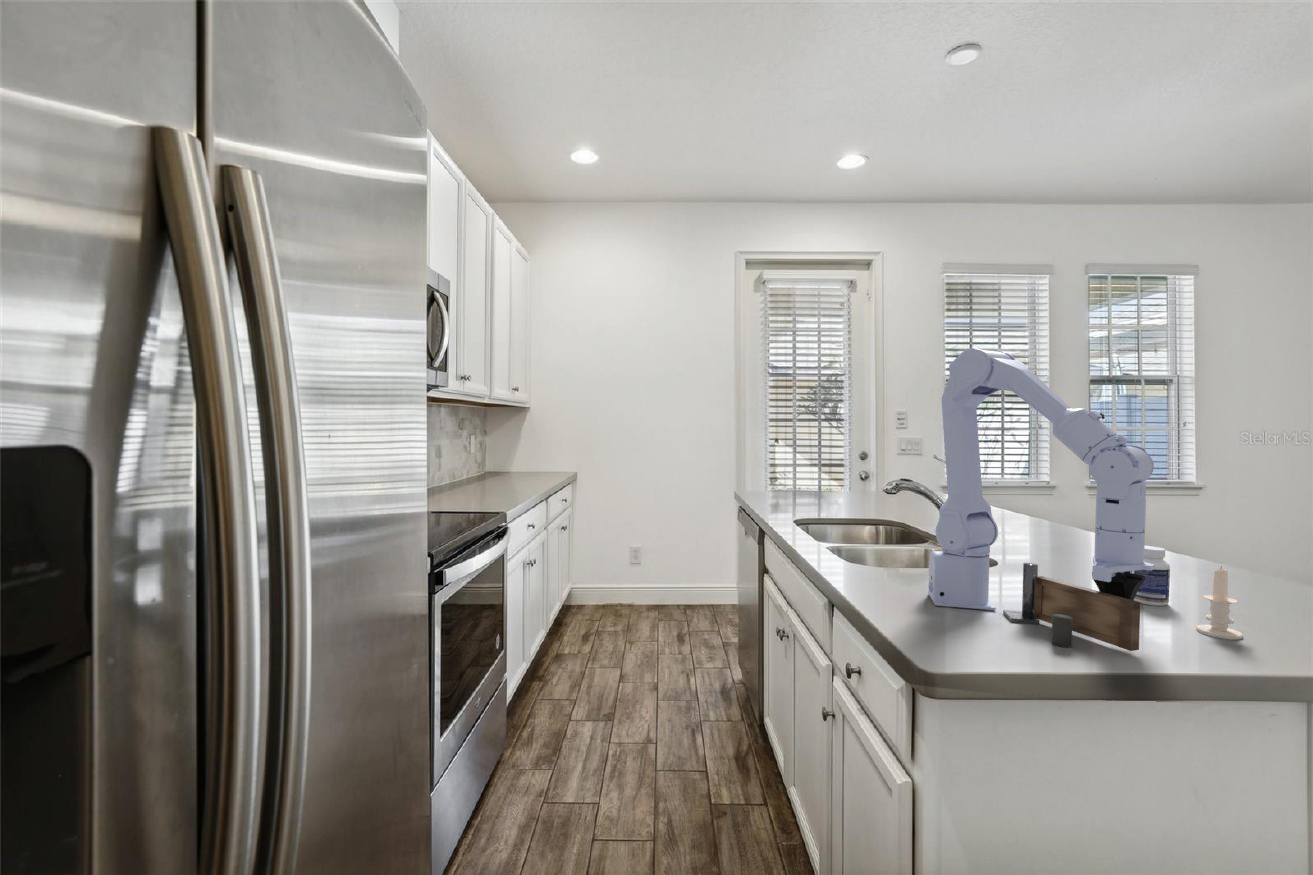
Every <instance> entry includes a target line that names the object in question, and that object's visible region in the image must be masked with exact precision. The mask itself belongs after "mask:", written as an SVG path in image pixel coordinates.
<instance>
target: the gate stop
mask: <svg viewBox="0 0 1313 875" xmlns="http://www.w3.org/2000/svg"><path fill="white" fill-rule="evenodd" d="M1072 619H1073V618H1072V617H1070V616H1067V615H1062V614H1053V615H1052V624H1051V627H1052V628H1051V644H1052V645H1054V646H1057V647H1061V648H1071V647H1072V646H1073V645H1072V644H1073V643H1072V642H1073V631H1072Z"/></svg>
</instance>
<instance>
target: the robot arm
mask: <svg viewBox="0 0 1313 875" xmlns="http://www.w3.org/2000/svg"><path fill="white" fill-rule="evenodd" d="M948 370H949V377H948V379H947V380H948V381H947V383H946V385H945V388H944V391H943V394H942V397H941V411H942V412H941V414H942V428H943V429H942V430H943V440H944V441H943V442H944V455H945V456H944V457H945V458H944V459H945V471H946V472H945V473H946V483H947V484H946V486H947V487H946V488H947V498H946V500H945V501H944V502H943V503H942V505H941V506H940V508H939V510H938V511H939V512H938V514H939V518H938V521H937V525H936V526H935V527H936V528H935V538H936V540H937V542H938V544H939V545H940V546H941V547H942V549H941V550H931V551H930V553H929V557H928V558H929V559H928V560H929V561H928V590H927V594H928V596H929V597H930V599H931V601H932V602H933V604H934V605H935V606H938V607H949V608H951V607H952V608H964V609H974V610H975V609H976V610H987V611H996V610H997V608H996V606H995V605H994V604H993V603H992V602H991V601H990V599H989V591H990V590H989V589H990V588H989V587H990V582H989V581H990V553H991V546H992V545H993V544H995V543H996V542H997V539H998V536H999V528H998V525H997V523H996V521H995V520H994V517H993V515H992V507H991V505H990V504H989V502H987V500H985V497H984V496H983V485H982V471H981V470H982V469H981V457H980V456H981V455H980V454H981V453H980V442H979V441H980V440H979V426H978V414H977V412H978V411H977V408H978V407H979V406H980V405H981V404H982V403H983V402H984V401H985V400H986V399H987V398H988V397H989V396H990V395H992V394H995V393H997V392H998V391H1000V390H1003V391H1009V392H1012V393H1014V394H1015V395H1016V396H1018V397H1019V398H1020V399H1022V401H1024V402H1025V404H1026V403H1027V404H1028V405H1029V406H1030V407H1031V408H1032V409H1034V410H1035V411H1037V413H1039V414H1040V415H1041V416H1043V417H1044V418H1046V420H1048V421H1049V422H1050V423H1052V434H1053V436H1054V437H1055V438H1056V439H1057V440H1058V441H1059V442H1060V443H1062V444H1063V445H1064V446H1065V447H1066V448H1067V449H1069V450H1070V452H1072V453H1073V454H1075V456H1076V457H1078V459H1080V460H1081V461H1082V462H1084V463H1085V465H1088V472H1089V475H1090V476H1091V478H1092V479H1093V480H1094V481H1095V483H1096V496H1095V497H1096V498H1095V526H1094V527H1095V528H1094V556H1092V564H1093V565H1092V570H1091V578H1092V580H1093V582H1094V583H1095V585H1096V587H1097V588H1098V591H1100V592H1104V593H1107V594H1111V595H1115V596H1118V597H1122V598H1126V599H1130V600H1134V598H1135V596H1136V594H1137V592H1138V590H1139V588H1140V587H1141V585H1142V584H1143V583H1144V581H1145V576H1143V575H1139V574H1134V573H1131V571H1136V570H1150V571H1151V570H1153V569H1154V567H1155V565H1154V564H1151V563H1146V562H1145V561H1144V546H1145V545H1146V544H1145V543H1146V542H1145V539H1146V537H1145V535H1146V514H1147V513H1146V512H1147V508H1146V507H1147V499H1146V498H1147V497H1146V494H1147V491H1146V490H1147V480H1148V479H1150V478H1151V476H1152V475H1153V472H1154V466H1155V465H1154V461H1153V459H1152V457H1151V455H1150V454H1149V453H1148V452H1147V450H1146V449H1145V448H1144V447H1142V446H1139V445H1136V444H1127V443H1128V442H1129V438H1128V437H1127V436H1126V435H1123V434H1120V435H1119V434H1117V432H1115V431H1114V430H1112V429H1111V428H1110V427H1109V426H1107V425H1106V424H1105V423H1104V422H1103V421H1101V420H1100V419H1102V418H1103V416H1102V414H1100V413H1099V412H1098V411H1096V410H1090V411H1089V410H1088V409H1086V408H1084V407H1083V408H1071V406H1069V404H1068V403H1066V402H1065V401H1064V400H1063V399H1062V398H1061V397H1060V396H1058V394H1056V392H1054V391H1053V390H1052V389H1051V388H1050V387H1049V386H1048V385H1047V384H1045V382H1043V381H1042V380H1041V379H1040V378H1039V377H1038V376H1037V375H1036V374H1035V373H1033V371H1031V369H1029V367H1027V365H1026V364H1025V363H1024V362H1023V361H1020V360H1017V359H1016V358H1015V357H1014V355H1012V354H1010V353H1009V352H1006V351H990V350H983V349H980V348H968V349H966V350H964V351H962V352H961V353H960V354H958V356H956V357H955V359H954V360H952V362H950V364H949V365H948Z"/></svg>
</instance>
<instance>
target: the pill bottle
mask: <svg viewBox="0 0 1313 875" xmlns="http://www.w3.org/2000/svg"><path fill="white" fill-rule="evenodd" d="M1165 557H1166V549H1165V548H1163V547H1158V546H1153V545H1151V546H1150V545H1144V561H1145V562H1146V563H1151V564H1154V565H1155V567H1154V569H1153V570H1151V571H1150V570H1136V571H1131V573H1134V574H1139V575H1143V576H1145V581H1144V583H1143V584H1142V585H1141V587H1140V588H1139V590H1138V592H1137V594H1136V596H1135V598H1134V601H1138V602H1141V603H1140V604H1143V605H1147V606H1156V607H1162V606H1163V607H1165V606H1168V605H1169V602H1170V585H1171V584H1170V576H1171V566H1170V563H1168V561H1165V560H1164V558H1165Z"/></svg>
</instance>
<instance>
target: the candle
mask: <svg viewBox="0 0 1313 875" xmlns="http://www.w3.org/2000/svg"><path fill="white" fill-rule="evenodd" d="M1228 572H1229V571H1228V569H1225V568H1224V569H1222V565H1220V568H1219V569H1215V570H1214V573H1213V574H1214V575H1213V585H1212V595H1211V594H1205V595H1202V598H1204V599H1206V600H1208V601H1209V602H1210V607H1209V610H1210V611H1209V612H1210V614H1205V620H1207V621H1210V623H1209V624H1198V625H1196V631H1197V632H1198V633H1200V634H1202V635H1205V636H1207V637H1208V636H1209V637H1212V638H1215V639H1216V638H1217V639H1222V640H1223V639H1224V640H1229V641H1230V640H1233V641H1237V640H1242V639H1243V637H1244V636H1243V633H1242V632H1240V631H1238V630H1235V629H1233V628H1230V627H1229V625H1231V624H1234V622H1235V620H1234V619H1233V618H1232V617H1229V616H1230V612H1231V610H1230V607H1231V605H1232V604H1236V603H1237V604H1238V602H1239V601H1238V600H1237V599H1235V598H1232V597H1231V598H1230V597H1228V594H1229V592H1228V590H1229V589H1228V588H1229V587H1228V586H1229V584H1228V583H1229V575H1228V574H1229V573H1228Z"/></svg>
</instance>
